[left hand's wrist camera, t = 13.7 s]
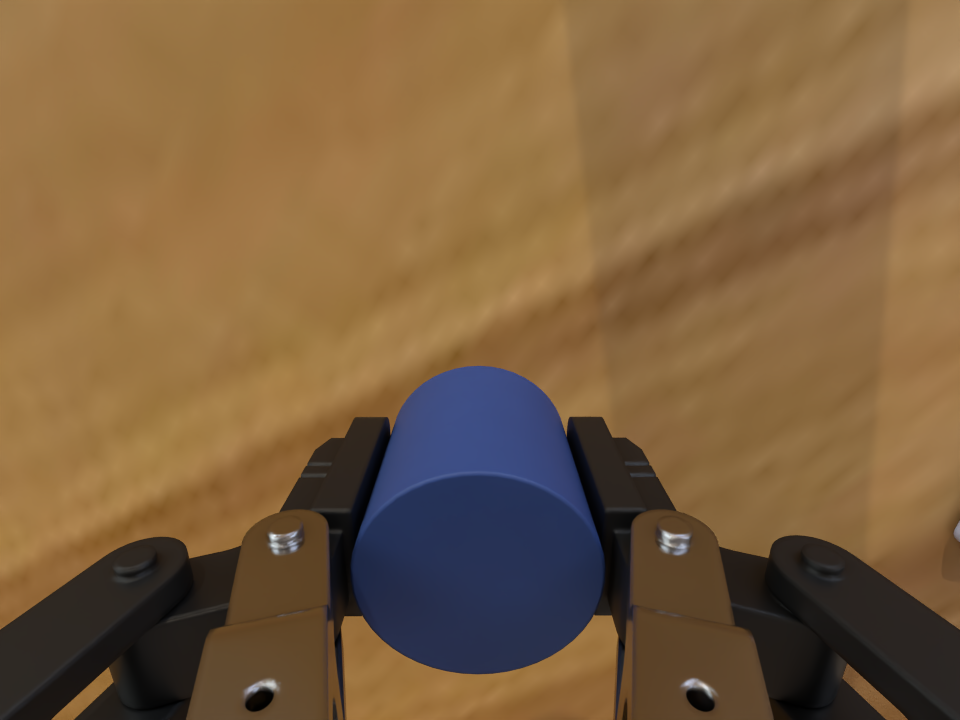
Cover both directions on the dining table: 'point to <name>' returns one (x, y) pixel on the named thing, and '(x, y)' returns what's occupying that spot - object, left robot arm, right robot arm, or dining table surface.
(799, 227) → the dining table surface
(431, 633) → the canister
